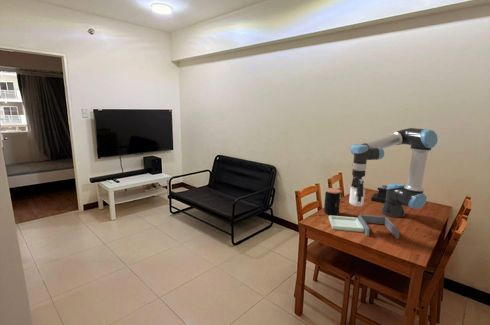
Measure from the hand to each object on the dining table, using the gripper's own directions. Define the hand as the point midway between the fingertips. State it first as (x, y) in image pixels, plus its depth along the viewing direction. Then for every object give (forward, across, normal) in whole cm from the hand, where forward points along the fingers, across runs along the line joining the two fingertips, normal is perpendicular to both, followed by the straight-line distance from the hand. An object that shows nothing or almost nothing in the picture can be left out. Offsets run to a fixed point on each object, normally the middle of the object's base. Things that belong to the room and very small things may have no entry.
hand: (355, 202), depth 169 cm
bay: (+18, -1, +15) cm, 23 cm away
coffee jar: (+18, -25, -9) cm, 32 cm away
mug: (+1, 0, 0) cm, 1 cm away
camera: (+18, -60, +41) cm, 75 cm away
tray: (+18, -5, -4) cm, 19 cm away
